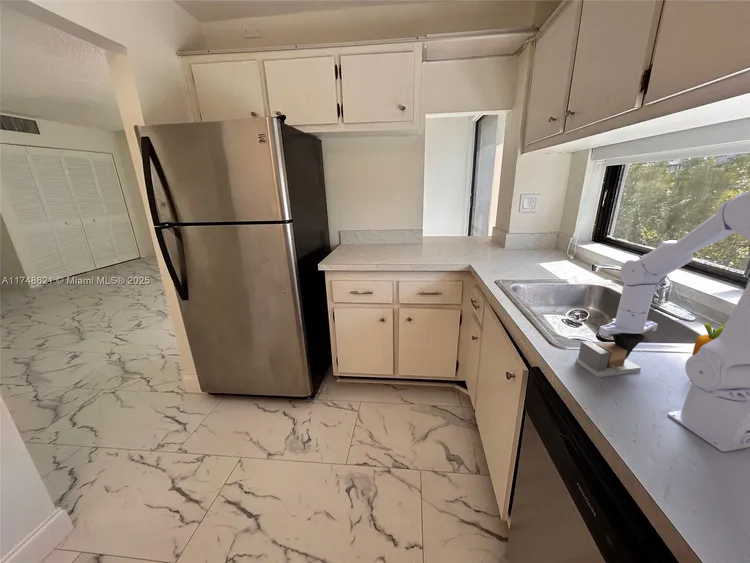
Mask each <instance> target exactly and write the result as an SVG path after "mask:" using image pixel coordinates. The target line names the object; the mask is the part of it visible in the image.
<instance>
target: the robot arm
mask: <svg viewBox="0 0 750 563" xmlns="http://www.w3.org/2000/svg"><path fill="white" fill-rule="evenodd" d="M735 233H737V234H738V235H740V236H741V237H743V238H744V239H745V240H747V241H748V242H750V190H747V191H743V192H740V193H738V194H737V195H735V196H733V197H732V198H731V199H730V200H729V201H726V202H724V203H723V204H721V205H719V206H718V208H717V211H716V213H714V214H713V215H711V216H710V217H709V218H708V219H706V220H705V221H703V222H702V223H700V224H699V225H698V226H696V227H695V228H694V229H692V230H691V231H690V232H688V233H687V234H685V235H684V236H683V237H682V238H680V239H679V240H666V241H665V240H664V241H661V242H659V243H657V247H656V248H654V249H652V250H651V251H649V252H648V253H644V254H643V255H641V257H640V258H639V259H637V260H633V259H631V260H627V261H626V262H625V263H623V265H622V266H621V268H620V271H619V275H620V279H621V281H622V282H623V287H622V291H621V296H620V298H619V299H620V300H619V304H618V308H617V311H616V316H615V318H612V319H611V322H610V323H607V324H606V325H605V324H604V325H600V326H599V330H598V334H600V335H602V336H603V337H609V336H610V335H611V336H612V338H613V340H614V341H613V343H614V344H616V345H618V346H620V347H621V348H623V349H625V350H627V354H626V358H625V359H628V357H629V356H630V355H631V353H632V351H633V350H634V348H636V347H637V345H639V344H640V343H641V342H643V341H644V339H645V335H643V333H645V332H648V331H650V332H656V331H657V329H658V323H656V322H654V321H652V320H647V319H648V316H649V312H650V308H651V305H652V300H653V297H654V294H655V292H657V291H658V289H659V287H660V285H661V284H662V283H664V281H665V280H666V278H667V275H669V274H671V273H673V272H674V271H676V270H679V269H680V268H681V267H684V266H685V265H688V264H689V263H690V262H692V260H693V259H694V258H693V257H694V254H695V253H698V252H699V251H701V250H702V249H705V248H706V247H709V246H711V245H712V244H714V243H716V242H719V241H721V240H722V239H724V238H727V237H729V236H731V235H733V234H735ZM725 323H726V325H725V327H724V329H723V330H722V332H721V334H720V336H719V337H718V338H716V339H714V340H712V341H710V342H708V343H707V344H705V345H703V346H701V348H700V350H699V351H698V352H697V353H696V354H695V355H693V356H692V355H691V356H689V357H688V358H687V360H686V362H685V366H684V367H685V368H684V369H685V373H686V376H687V377H688V379H689V383H691V384H690V386H689V388H688V392H687V395H686V397H685V400H684V404H683V406H682V409H681V410H676V411H669V412H667V416H669V417H670V418H671V419H673V420H675V421H676V422H677V423H679V424H680V425H681V426H683V427H685V428H687V429H688V430H689V431H691V432H692V433H694V434H695V435H697V436H698V437H700V438H701V439H702V440H704V441H706V442H707V443H709V444H710V445H712V446H714V447H715V448H716V449H718V450H719V451H721V452H730V451H731V452H732V451H736V450H741V449H745V448H750V281H749V282H748V284H747V285H746V287H745V289H744V290H743V292H742V295H741V296H740V298H739V300H738V301H737V303H736V305H735V307H734V309H733V311H732V313H731V314H730V316H729V317H728V320H727V322H725Z"/></svg>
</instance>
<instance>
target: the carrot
mask: <svg viewBox="0 0 750 563" xmlns="http://www.w3.org/2000/svg"><path fill="white" fill-rule="evenodd" d="M726 323H727V322H724V323H723V324H722V325H721V326H719V327H718V328H717V329H716V328H712V324H710V322H707V323H704V324H703V326H704V328H705V330H706V332H707V334H702V335H699V336H697V337H696V339H695V343H694V346H693V350H692V355H691V356H693V355H695V354H696V353H697V352H698V351H699V350H700V348H701V346H703V345H705V344H707V343H708V342H710V341H712V340H714V339H716V338H718V337H719V336H720V334H721V332H722V330H723V329H724V327H725V325H726Z"/></svg>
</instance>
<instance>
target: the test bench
mask: <svg viewBox="0 0 750 563" xmlns="http://www.w3.org/2000/svg"><path fill="white" fill-rule="evenodd" d="M609 355H610V353H609V352H608V351H606V350H604V349H603V348H601V347H599V346H598V345H597V343H594V342H592V341H590V340H587V341H585V340H584V341H581V342H580V346H579V351H578V357H576V359H575V362H576V364H578V365H579V366H581V367H582V368H583V369H585V370H586V371H588V372H589V373H591V374H592V375H594V376H595V377H597V378H603V377H604V378H605V377H609V376H619V375H624V374H625V375H626V374H633V373H640V372H641V370H642V367H641V366H639V365H638V364H636V363H634V362H632V361H631V360H629V359H628V358H627V359H625V362H624V365H623V366H621V367H616V368H618V369H619V371H615V370H614V369H612V368H607V363H608V359H609Z"/></svg>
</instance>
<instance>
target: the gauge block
mask: <svg viewBox="0 0 750 563" xmlns="http://www.w3.org/2000/svg"><path fill="white" fill-rule="evenodd" d="M596 345H598V346H599V347H601V348H603V349H604V350H606V351H608V352H609V353H610V355H609V359H608V363H607V368H612V369H614V370H615V371H619V369H618V368H616V367H621V366H623V365H624V362H625V358H626V354H627V350H625V349H623V348H621V347H620V346H618V345H616V344H615V342H613V341H611V342H610V341H609V342H608V341H607V342H601V343H596Z"/></svg>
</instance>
